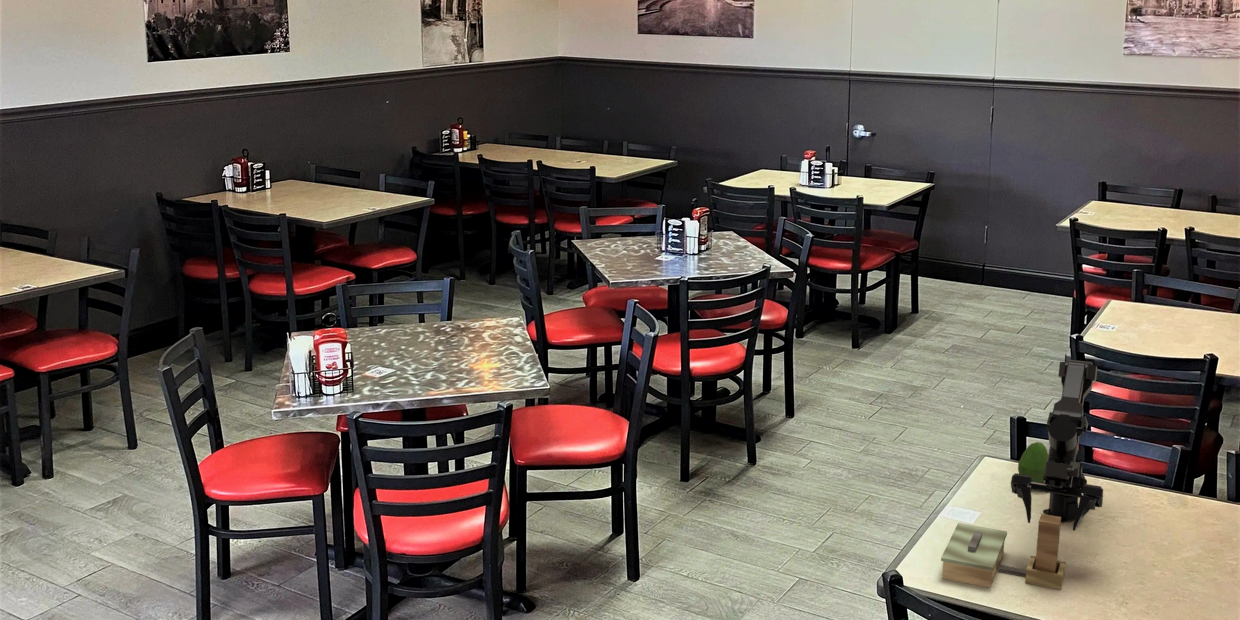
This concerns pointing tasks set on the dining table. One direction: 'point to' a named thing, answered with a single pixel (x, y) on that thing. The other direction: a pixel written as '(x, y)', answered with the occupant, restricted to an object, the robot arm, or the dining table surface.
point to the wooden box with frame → (988, 559)
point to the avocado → (1034, 461)
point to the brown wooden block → (1048, 543)
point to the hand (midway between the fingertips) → (1051, 526)
